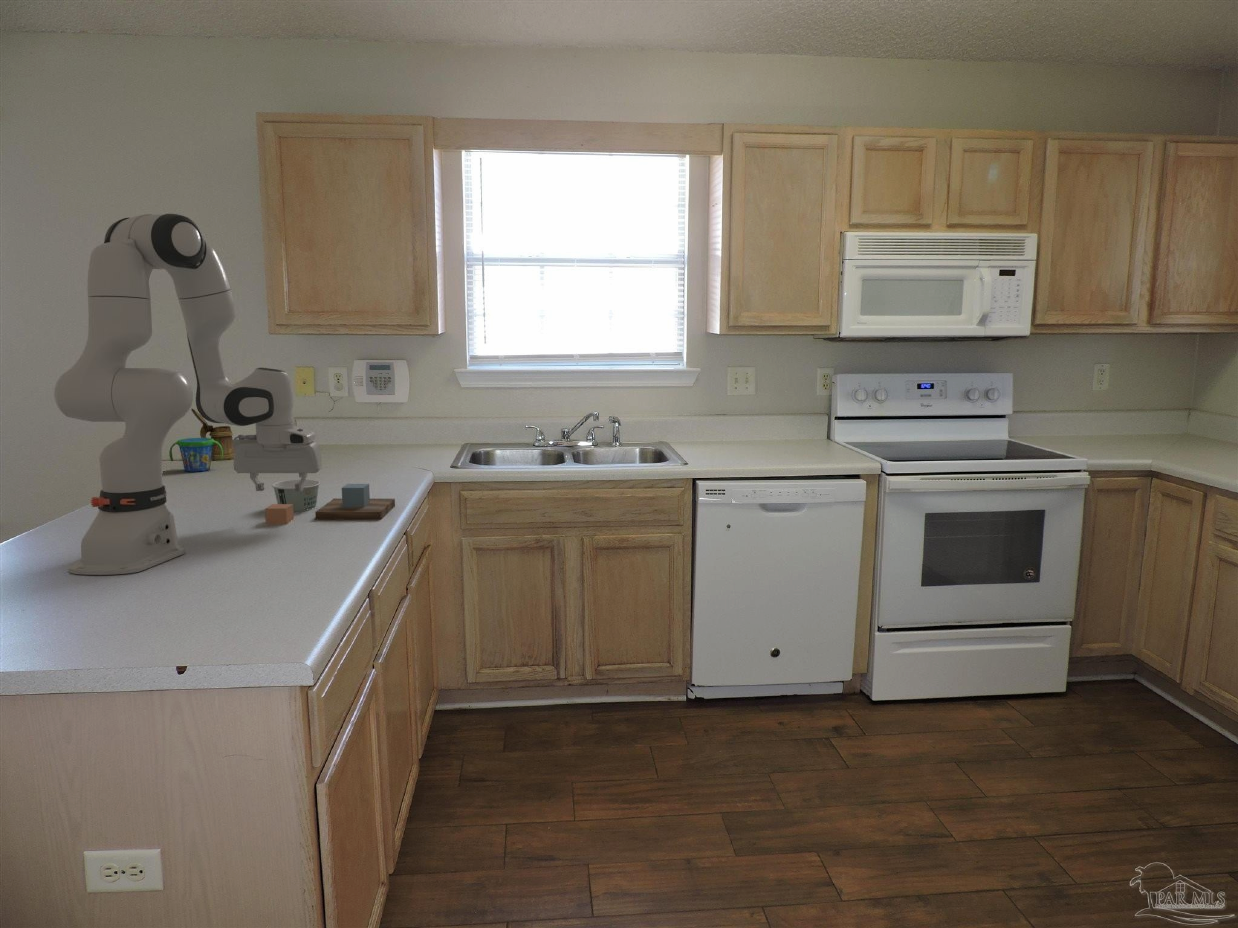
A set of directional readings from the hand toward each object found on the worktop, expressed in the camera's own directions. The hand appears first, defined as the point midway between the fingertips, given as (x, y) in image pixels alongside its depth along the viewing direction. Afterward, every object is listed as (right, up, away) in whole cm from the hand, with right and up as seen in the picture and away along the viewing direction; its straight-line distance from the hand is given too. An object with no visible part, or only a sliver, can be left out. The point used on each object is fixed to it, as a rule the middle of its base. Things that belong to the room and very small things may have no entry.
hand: (279, 490), depth 213 cm
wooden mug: (-59, +8, +93) cm, 110 cm away
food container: (-2, -5, +16) cm, 17 cm away
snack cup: (-54, +4, +70) cm, 88 cm away
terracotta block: (0, -8, 0) cm, 8 cm away
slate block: (+16, -4, +10) cm, 19 cm away
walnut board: (+16, -6, +11) cm, 20 cm away
